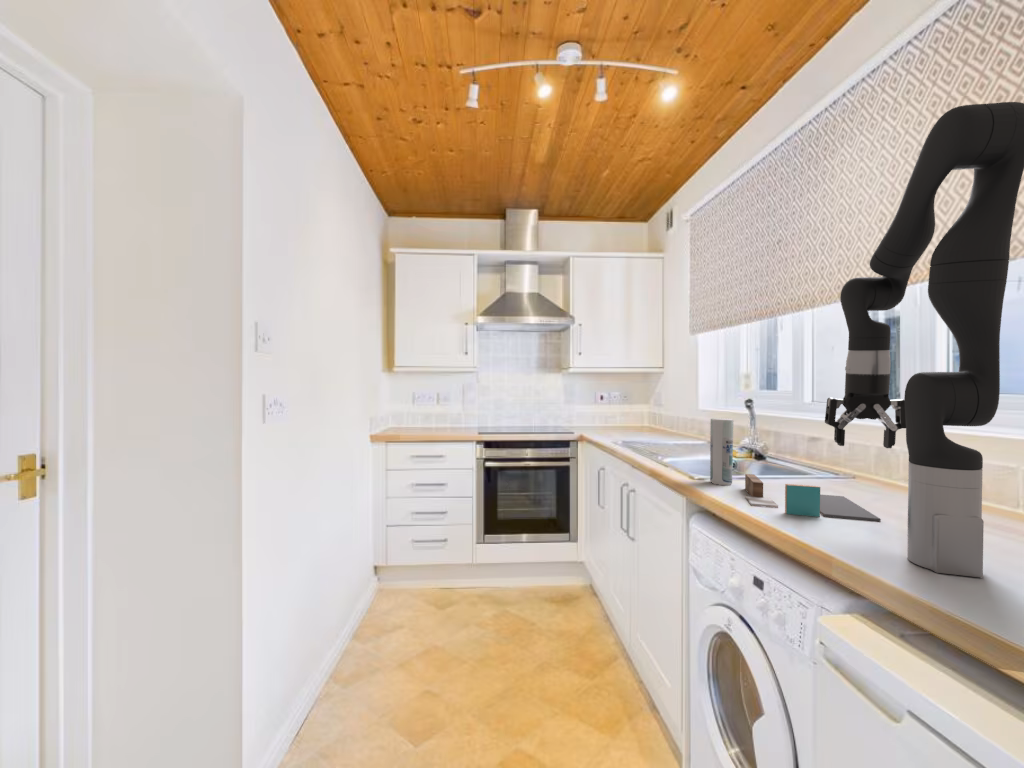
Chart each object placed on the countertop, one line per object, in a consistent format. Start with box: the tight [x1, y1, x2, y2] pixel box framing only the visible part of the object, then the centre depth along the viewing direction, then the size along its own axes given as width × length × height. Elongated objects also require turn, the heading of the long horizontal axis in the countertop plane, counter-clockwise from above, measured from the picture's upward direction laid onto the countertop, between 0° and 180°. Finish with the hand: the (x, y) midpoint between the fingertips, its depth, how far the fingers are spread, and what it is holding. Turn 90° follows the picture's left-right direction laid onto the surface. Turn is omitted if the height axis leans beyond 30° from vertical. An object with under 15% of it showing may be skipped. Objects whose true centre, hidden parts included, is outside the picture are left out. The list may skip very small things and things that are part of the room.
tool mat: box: [820, 494, 882, 522], centre depth 116 cm, size 22×11×1 cm, turn 162°
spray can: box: [709, 417, 734, 486], centre depth 142 cm, size 6×6×20 cm
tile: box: [784, 483, 821, 518], centre depth 108 cm, size 1×7×7 cm, turn 72°
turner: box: [744, 473, 779, 509], centre depth 125 cm, size 20×6×4 cm, turn 162°
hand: (863, 446), depth 99 cm, fingers open, 8 cm apart
